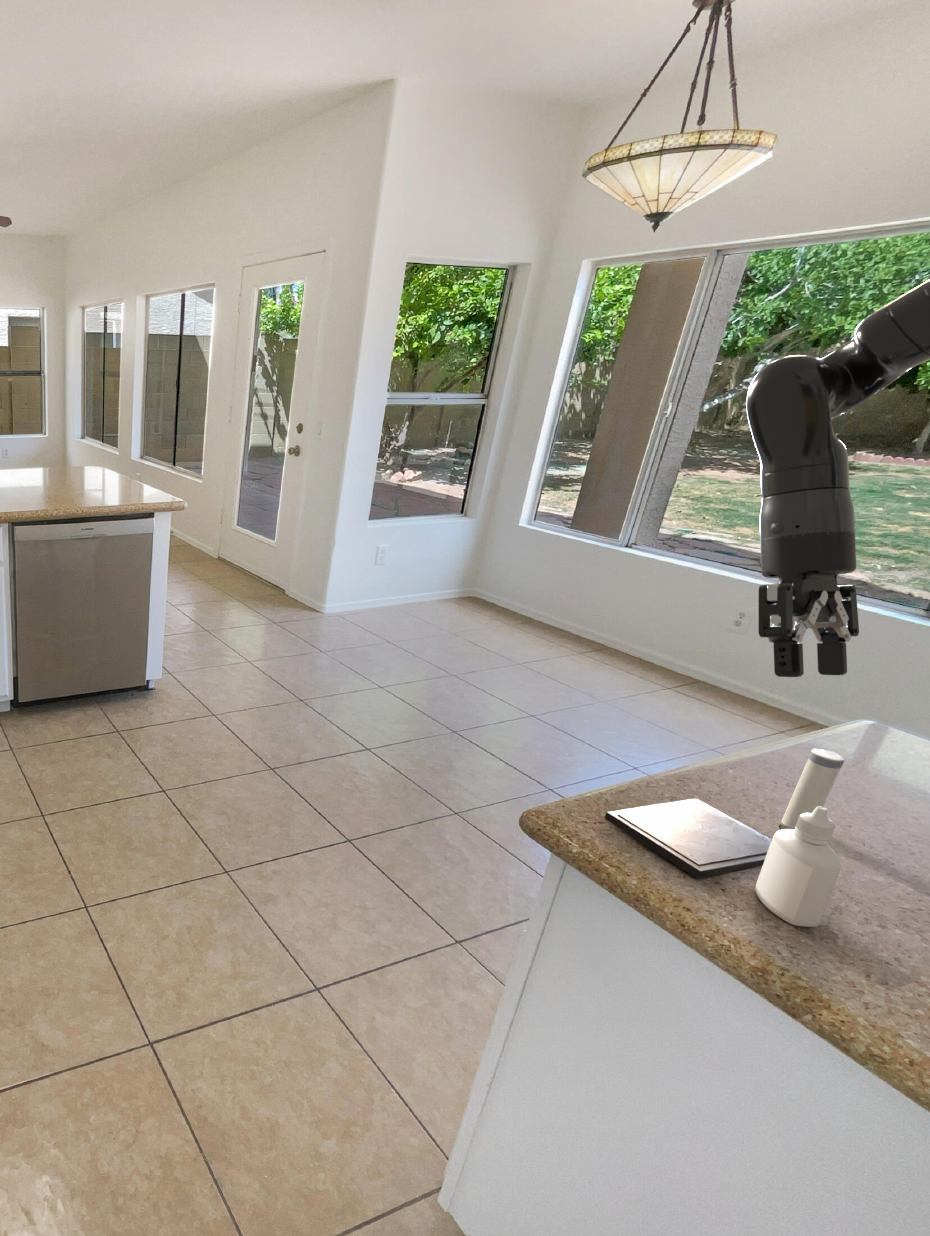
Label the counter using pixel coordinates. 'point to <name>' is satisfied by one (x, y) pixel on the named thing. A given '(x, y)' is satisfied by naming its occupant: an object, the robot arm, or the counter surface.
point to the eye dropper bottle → (800, 870)
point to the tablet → (694, 836)
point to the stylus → (813, 785)
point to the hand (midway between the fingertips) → (811, 675)
